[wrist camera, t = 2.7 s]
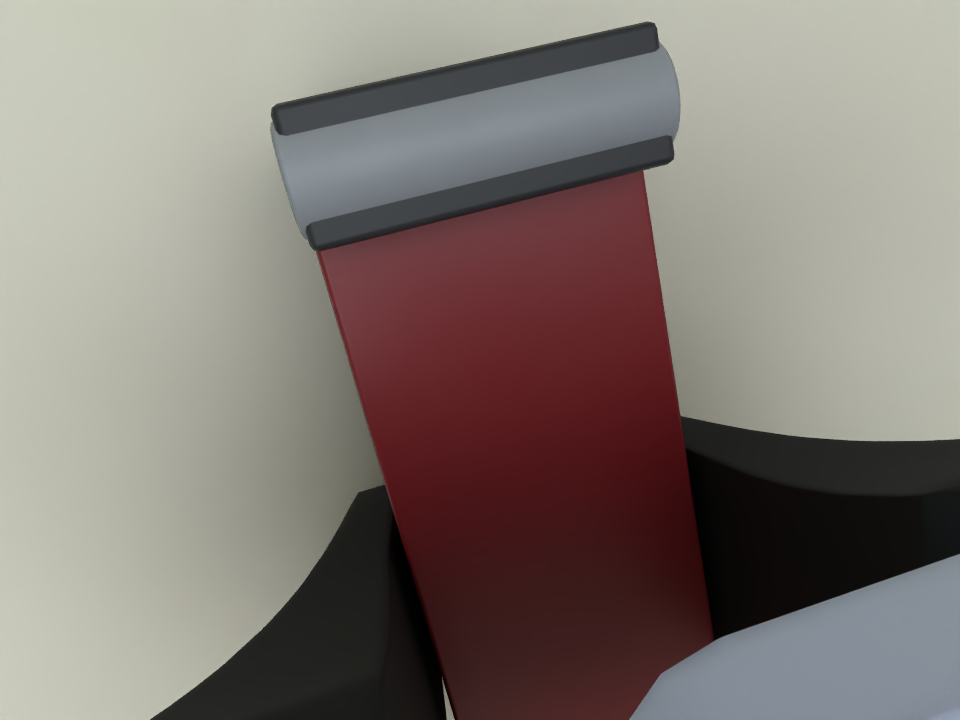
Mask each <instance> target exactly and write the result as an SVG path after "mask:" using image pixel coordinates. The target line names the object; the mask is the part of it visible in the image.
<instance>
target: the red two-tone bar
mask: <svg viewBox="0 0 960 720" xmlns="http://www.w3.org/2000/svg"><path fill="white" fill-rule="evenodd" d="M271 117H272V120H273V122H272V123H271V127H270V131H271V137H272V141H273V145H274V150H275V153H276V157H277V161H278V165H279V168H280V172H281V175H282V179H283V182H284V185H285V189H286V192H287V195H288V198H289V201H290V204H291V207H292V210H293V213H294V216H295V219H296V222H297V224H298V227H299V229H300V232H301V234H302V235H303V237H304V238H305V239H308V241H309V244H310V246H311V247H312V249H313V250H315V251H316V253H317V256H318V260H319V263H320V266H321V270H322V273H323V276H324V280H325V283H326V287H327V290H328V293H329V297H330V300H331V303H332V307H333V310H334V314H335V317H336V320H337V324H338V327H339V330H340V334H341V337H342V341H343V344H344V347H345V351H346V354H347V358H348V361H349V364H350V368H351V371H352V374H353V378H354V381H355V385H356V388H357V391H358V395H359V398H360V401H361V405H362V408H363V412H364V415H365V418H366V422H367V425H368V428H369V432H370V435H371V439H372V442H373V445H374V449H375V452H376V455H377V459H378V462H379V466H380V469H381V472H382V476H383V479H384V482H385V486H386V489H387V493H388V496H389V499H390V503H391V506H392V509H393V513H394V516H395V520H396V523H397V526H398V530H399V533H400V536H401V540H402V543H403V547H404V550H405V553H406V557H407V560H408V563H409V567H410V570H411V574H412V577H413V580H414V584H415V587H416V590H417V594H418V597H419V601H420V604H421V607H422V611H423V614H424V617H425V621H426V624H427V628H428V631H429V634H430V638H431V641H432V644H433V648H434V651H435V655H436V658H437V661H438V665H439V668H440V672H441V675H442V678H443V682H444V685H445V688H446V692H447V695H448V699H449V702H450V705H451V709H452V712H453V715H454V719H455V720H629V719H630V718H631V716H632V715H633V713H634V712H635V711H636V709H637V708H638V706H639V705H640V703H641V702H642V700H643V699H644V698H645V696H646V695H647V693H648V692H649V690H650V689H651V687H652V686H653V684H654V683H655V682H656V680H657V679H658V677H659V676H660V674H662V673H663V672H664V671H666V670H668V669H669V668H671V667H673V666H674V665H676V664H678V663H679V662H681V661H682V660H684V659H686V658H687V657H689V656H691V655H692V654H694V653H696V652H697V651H699V650H700V649H702V648H704V647H705V646H707V645H709V644H710V643H712V642H714V634H713V628H712V621H711V615H710V608H709V601H708V595H707V588H706V582H705V575H704V568H703V562H702V555H701V549H700V542H699V536H698V529H697V522H696V516H695V509H694V503H693V496H692V490H691V483H690V476H689V470H688V463H687V457H686V450H685V443H684V437H683V430H682V424H681V417H680V411H679V404H678V397H677V391H676V384H675V378H674V371H673V365H672V358H671V351H670V345H669V338H668V332H667V325H666V318H665V312H664V305H663V299H662V292H661V286H660V279H659V272H658V266H657V259H656V253H655V246H654V240H653V233H652V226H651V220H650V213H649V207H648V200H647V193H646V187H645V180H644V174H643V170H646V169H650V168H654V167H658V166H662V165H666V164H668V163H670V162H671V161H672V160H674V149H673V141H674V139H675V137H676V134H677V131H678V127H679V121H680V93H679V86H678V80H677V76H676V72H675V69H674V66H673V63H672V60H671V58H670V56H669V54H668V52H667V51H666V49H665V48H664V46H663V45H662V44H661V43H660V42H659V40H658V33H657V28H656V25H655V23H651V22H643V23H639V24H634V25H630V26H625V27H621V28H616V29H612V30H607V31H603V32H598V33H594V34H589V35H585V36H580V37H576V38H571V39H567V40H562V41H558V42H553V43H549V44H544V45H540V46H535V47H531V48H526V49H522V50H517V51H513V52H508V53H504V54H499V55H495V56H490V57H486V58H481V59H477V60H472V61H468V62H463V63H459V64H454V65H450V66H445V67H441V68H436V69H432V70H427V71H423V72H418V73H414V74H409V75H405V76H400V77H396V78H391V79H387V80H382V81H378V82H373V83H369V84H364V85H360V86H355V87H351V88H346V89H342V90H337V91H333V92H328V93H324V94H319V95H315V96H310V97H306V98H301V99H297V100H292V101H288V102H283V103H279V104H276V105H275V106H274V107H272V110H271Z"/></svg>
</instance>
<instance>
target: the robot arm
mask: <svg viewBox="0 0 960 720" xmlns="http://www.w3.org/2000/svg"><path fill="white" fill-rule="evenodd" d="M680 417H681V424H682V430H683V437H684V443H685V450H686V457H687V463H688V470H689V476H690V483H691V490H692V496H693V503H694V509H695V516H696V522H697V529H698V536H699V542H700V549H701V555H702V562H703V568H704V575H705V582H706V588H707V595H708V601H709V608H710V615H711V621H712V628H713V634H714V642H712V643H710V644H709V645H707V646H705V647H704V648H702V649H700V650H699V651H697V652H696V653H694V654H692V655H691V656H689V657H687V658H686V659H684V660H682V661H681V662H679V663H678V664H676V665H674V666H673V667H671V668H669V669H668V670H666V671H664V672H663V673H662V674H660V676H659V677H658V679H657V680H656V682H655V683H654V684H653V686H652V687H651V689H650V690H649V692H648V693H647V695H646V696H645V698H644V699H643V700H642V702H641V703H640V705H639V706H638V708H637V709H636V711H635V712H634V713H633V715H632V716H631V718H630V719H629V720H960V439H955V440H934V441H848V440H834V439H820V438H807V437H797V436H788V435H781V434H774V433H768V432H761V431H754V430H748V429H743V428H737V427H732V426H726V425H721V424H716V423H711V422H706V421H702V420H697V419H692V418H687V417H683V416H680ZM150 720H447V718H446V709H445V701H444V692H443V684H442V675H441V672H440V668H439V665H438V661H437V658H436V655H435V651H434V648H433V644H432V641H431V638H430V634H429V631H428V628H427V624H426V621H425V617H424V614H423V611H422V607H421V604H420V601H419V597H418V594H417V590H416V587H415V584H414V580H413V577H412V574H411V570H410V567H409V563H408V560H407V557H406V553H405V550H404V547H403V543H402V540H401V536H400V533H399V530H398V526H397V523H396V520H395V516H394V513H393V509H392V506H391V503H390V499H389V496H388V493H387V489H386V486H385V485H382V486H379V487H375V488H372V489H369V490H365V491H362V492H359V493H358V494H357V496H356V498H355V499H354V501H353V503H352V504H351V506H350V508H349V510H348V512H347V514H346V516H345V517H344V519H343V521H342V523H341V525H340V527H339V528H338V530H337V532H336V534H335V535H334V537H333V539H332V540H331V542H330V544H329V546H328V547H327V549H326V551H325V552H324V554H323V555H322V557H321V558H320V560H319V561H318V562H317V564H316V565H315V567H314V568H313V570H312V571H311V572H310V574H309V575H308V577H307V578H306V580H305V581H304V582H303V584H302V585H301V586H300V588H299V589H298V590H297V591H296V593H295V594H294V595H293V596H292V597H291V599H290V600H289V601H288V602H287V603H286V604H285V605H284V607H283V608H282V609H281V610H280V611H279V612H278V613H277V614H276V615H275V616H274V618H273V619H272V620H271V621H270V622H269V623H268V624H267V625H266V626H265V627H264V628H263V629H262V630H261V631H260V632H259V633H258V634H257V635H255V636H254V637H253V638H252V639H251V640H250V641H249V642H248V643H247V644H246V645H245V646H243V647H242V648H241V649H240V650H239V651H238V652H237V653H236V654H235V655H234V656H233V657H232V658H230V659H229V660H228V661H227V662H226V663H225V664H224V665H223V666H221V667H220V668H219V669H218V670H217V671H215V672H214V673H213V674H212V675H210V676H209V677H208V678H206V679H205V680H204V681H203V682H201V683H200V684H199V685H198V686H196V687H195V688H194V689H192V690H191V691H190V692H188V693H187V694H186V695H184V696H183V697H181V698H180V699H179V700H177V701H176V702H175V703H173V704H172V705H170V706H169V707H168V708H166V709H165V710H163V711H162V712H160V713H159V714H157V715H156V716H155V717H153V718H152V719H150Z"/></svg>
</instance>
